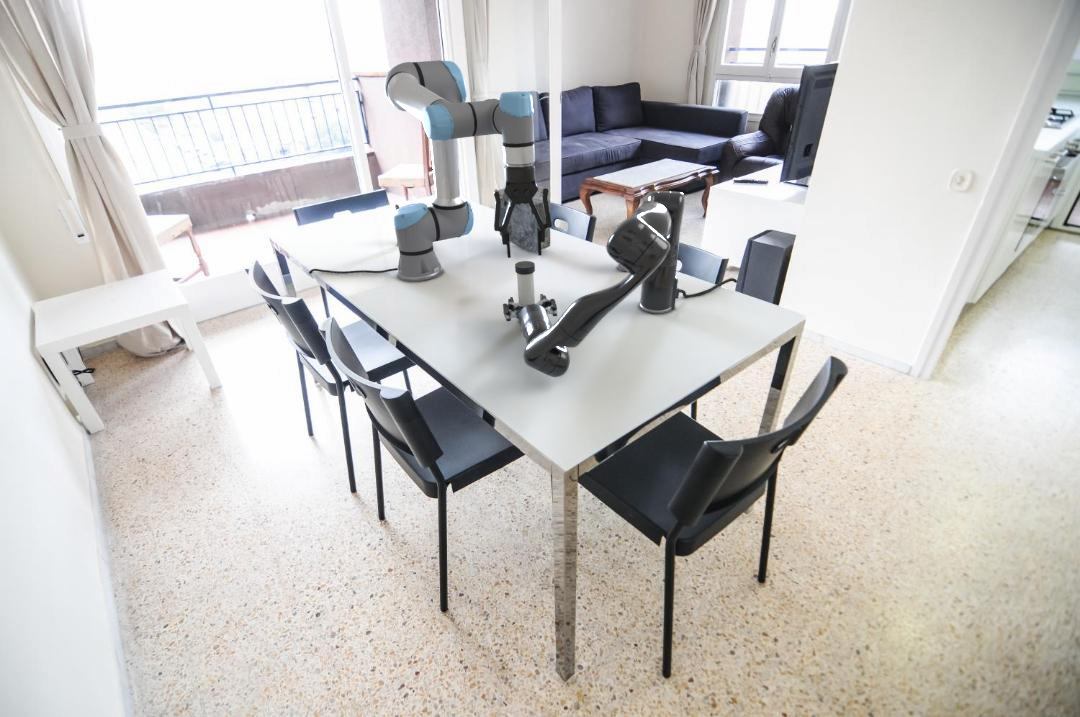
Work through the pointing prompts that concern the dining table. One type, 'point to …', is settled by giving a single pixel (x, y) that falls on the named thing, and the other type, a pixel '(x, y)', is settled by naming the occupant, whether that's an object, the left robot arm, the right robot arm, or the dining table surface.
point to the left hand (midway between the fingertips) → (524, 254)
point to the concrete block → (525, 223)
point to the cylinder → (526, 289)
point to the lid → (525, 267)
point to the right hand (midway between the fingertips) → (526, 298)
